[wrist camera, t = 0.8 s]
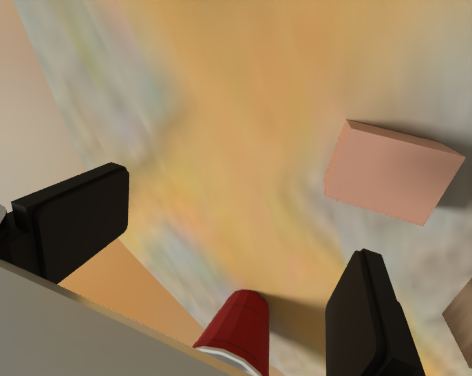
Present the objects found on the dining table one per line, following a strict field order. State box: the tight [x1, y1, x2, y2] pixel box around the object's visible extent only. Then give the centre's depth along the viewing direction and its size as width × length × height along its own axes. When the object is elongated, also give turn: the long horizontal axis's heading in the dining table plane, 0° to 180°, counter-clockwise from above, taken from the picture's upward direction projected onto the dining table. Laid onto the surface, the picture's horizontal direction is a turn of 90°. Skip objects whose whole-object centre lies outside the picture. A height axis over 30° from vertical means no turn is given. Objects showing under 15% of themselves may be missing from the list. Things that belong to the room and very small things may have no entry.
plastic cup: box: [193, 290, 269, 376], centre depth 31 cm, size 11×11×12 cm
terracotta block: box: [324, 120, 466, 226], centre depth 23 cm, size 6×8×5 cm
